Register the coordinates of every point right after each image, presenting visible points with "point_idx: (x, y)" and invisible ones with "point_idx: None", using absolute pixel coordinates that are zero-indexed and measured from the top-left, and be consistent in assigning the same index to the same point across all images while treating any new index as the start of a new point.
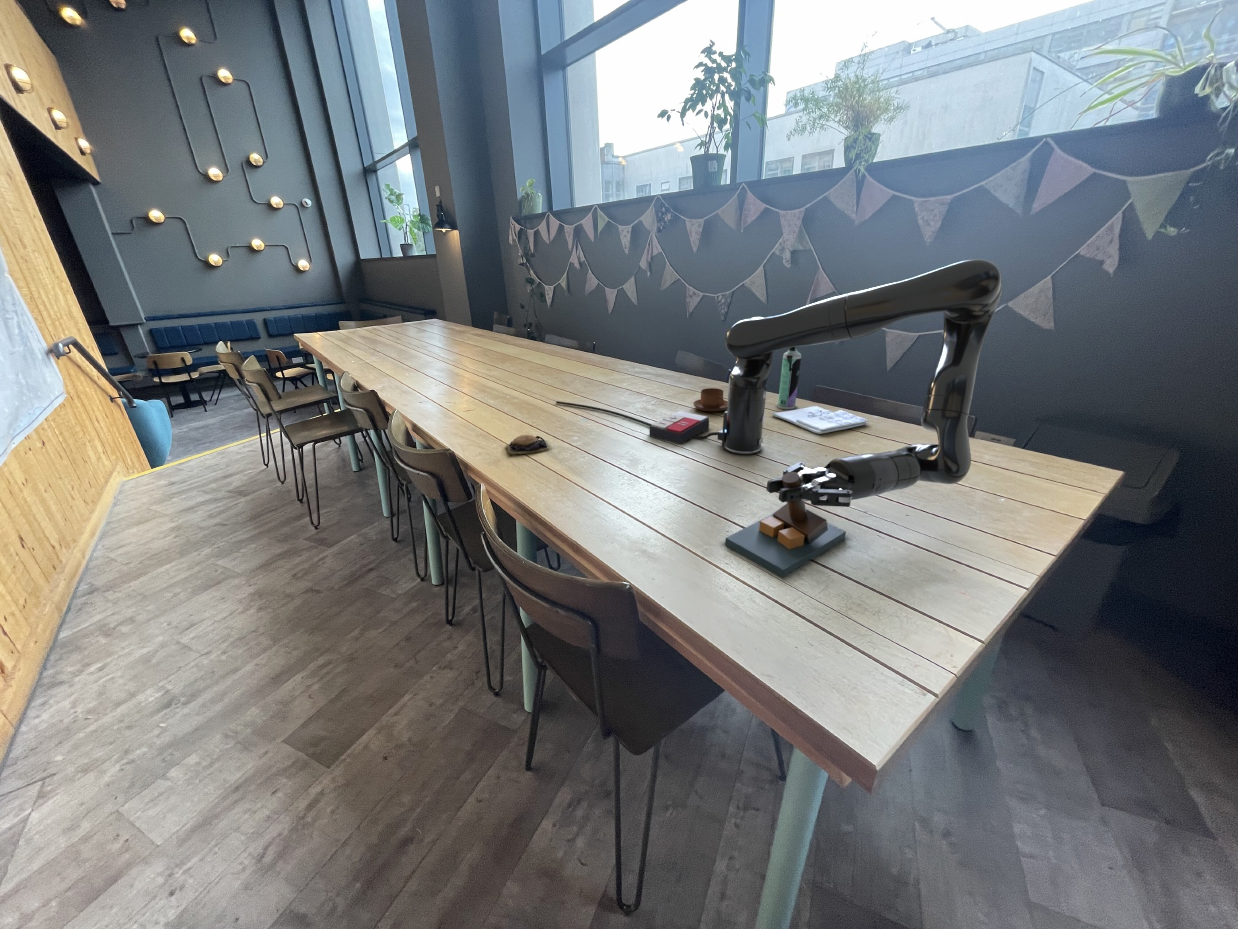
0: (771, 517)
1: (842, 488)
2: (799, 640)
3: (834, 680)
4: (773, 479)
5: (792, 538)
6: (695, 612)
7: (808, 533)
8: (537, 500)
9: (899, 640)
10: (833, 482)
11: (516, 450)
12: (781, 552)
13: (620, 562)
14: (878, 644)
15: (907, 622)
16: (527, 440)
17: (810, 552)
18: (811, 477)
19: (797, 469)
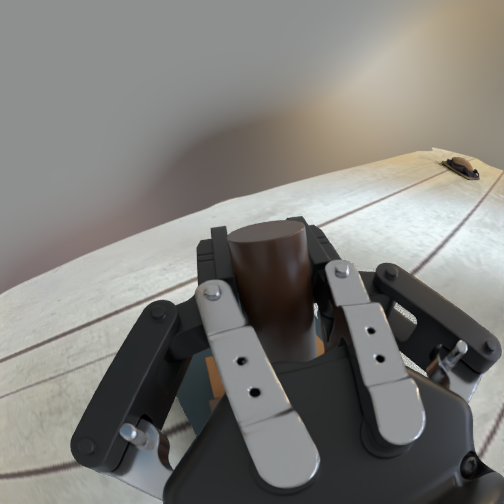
0: (322, 350)
1: (168, 478)
2: (61, 307)
3: (23, 310)
4: (305, 224)
5: (208, 363)
6: (145, 239)
7: (210, 404)
8: (370, 167)
9: (8, 401)
10: (233, 455)
11: (448, 163)
12: (204, 352)
13: (252, 199)
14: (16, 375)
15: (17, 439)
16: (459, 161)
17: (186, 410)
18: (335, 361)
19: (434, 326)
